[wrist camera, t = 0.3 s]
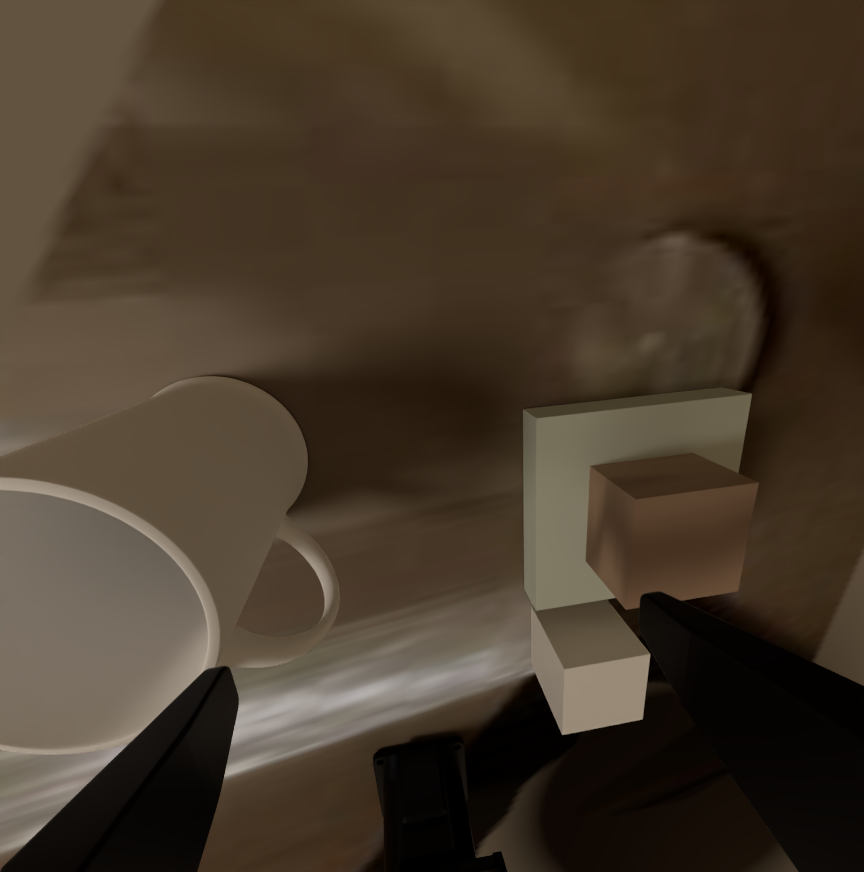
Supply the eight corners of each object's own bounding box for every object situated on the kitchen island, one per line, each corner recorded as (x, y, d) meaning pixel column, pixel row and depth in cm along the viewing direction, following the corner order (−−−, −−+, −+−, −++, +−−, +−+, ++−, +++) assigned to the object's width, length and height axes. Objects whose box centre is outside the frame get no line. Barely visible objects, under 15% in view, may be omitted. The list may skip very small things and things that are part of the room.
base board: (695, 562, 27) (719, 580, 25) (524, 588, 26) (535, 610, 24) (721, 387, 23) (752, 394, 21) (522, 409, 22) (536, 418, 20)
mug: (388, 481, 22) (399, 657, 11) (294, 585, 24) (217, 840, 12) (196, 338, 19) (-76, 381, 8) (98, 468, 20) (-262, 673, 9)
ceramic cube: (598, 651, 28) (642, 719, 24) (531, 663, 28) (562, 735, 23) (602, 593, 27) (650, 654, 22) (531, 605, 26) (564, 669, 22)
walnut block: (680, 546, 24) (737, 591, 20) (585, 561, 23) (625, 609, 19) (693, 452, 22) (759, 482, 18) (590, 465, 21) (635, 499, 18)
